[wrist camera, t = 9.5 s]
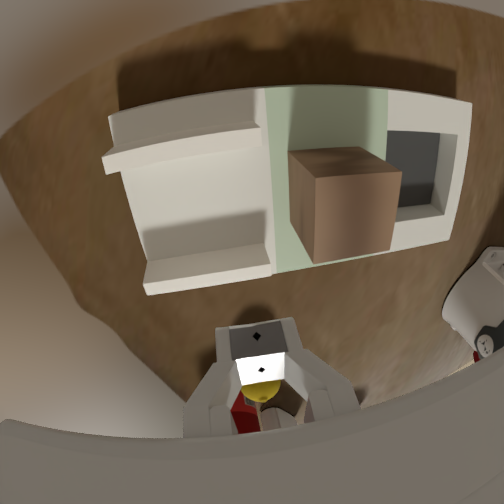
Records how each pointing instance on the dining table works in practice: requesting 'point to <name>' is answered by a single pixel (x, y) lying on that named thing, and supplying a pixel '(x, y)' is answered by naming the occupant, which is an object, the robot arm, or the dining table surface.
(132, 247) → the dining table surface
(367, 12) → the dining table surface
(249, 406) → the canned food
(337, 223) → the walnut block
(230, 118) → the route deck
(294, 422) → the white rounded block
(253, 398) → the lemon
